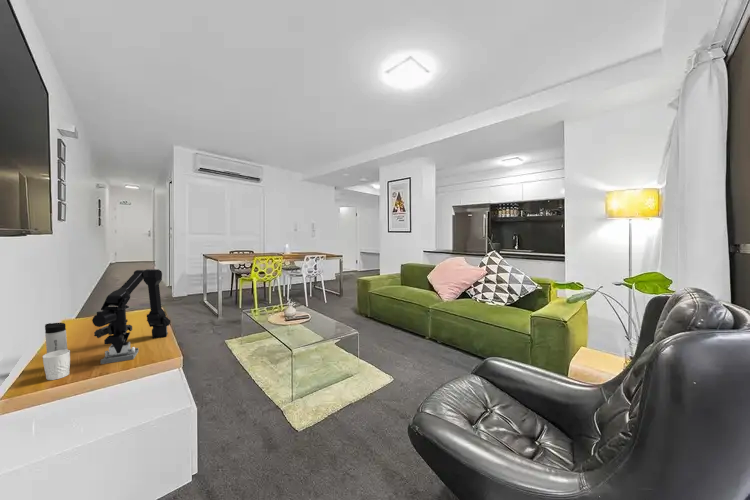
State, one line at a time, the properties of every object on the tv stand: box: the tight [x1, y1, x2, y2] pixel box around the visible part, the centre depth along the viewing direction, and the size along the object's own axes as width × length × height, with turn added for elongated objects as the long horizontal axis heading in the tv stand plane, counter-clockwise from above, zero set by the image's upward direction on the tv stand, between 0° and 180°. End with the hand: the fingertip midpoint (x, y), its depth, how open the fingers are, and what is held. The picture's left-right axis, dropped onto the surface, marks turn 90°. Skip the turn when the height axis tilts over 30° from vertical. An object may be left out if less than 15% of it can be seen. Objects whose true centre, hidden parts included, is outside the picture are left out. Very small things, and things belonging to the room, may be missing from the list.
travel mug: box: [44, 322, 68, 354], centre depth 132 cm, size 6×7×20 cm
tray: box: [100, 346, 139, 365], centre depth 142 cm, size 12×10×4 cm
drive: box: [108, 341, 132, 356], centre depth 142 cm, size 7×4×4 cm, turn 118°
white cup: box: [42, 349, 71, 381], centre depth 124 cm, size 8×8×10 cm
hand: (120, 351), depth 142 cm, fingers closed on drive, 4 cm apart
